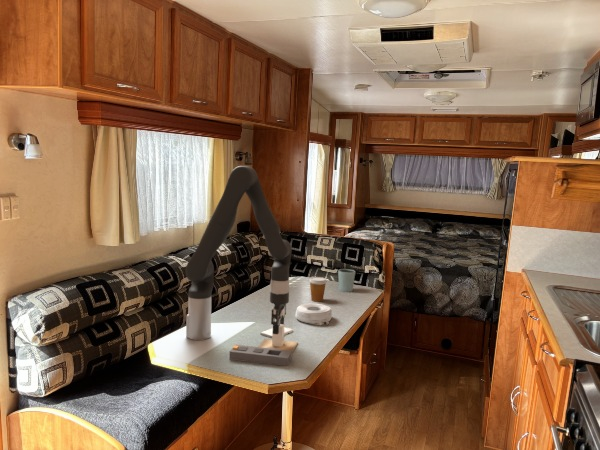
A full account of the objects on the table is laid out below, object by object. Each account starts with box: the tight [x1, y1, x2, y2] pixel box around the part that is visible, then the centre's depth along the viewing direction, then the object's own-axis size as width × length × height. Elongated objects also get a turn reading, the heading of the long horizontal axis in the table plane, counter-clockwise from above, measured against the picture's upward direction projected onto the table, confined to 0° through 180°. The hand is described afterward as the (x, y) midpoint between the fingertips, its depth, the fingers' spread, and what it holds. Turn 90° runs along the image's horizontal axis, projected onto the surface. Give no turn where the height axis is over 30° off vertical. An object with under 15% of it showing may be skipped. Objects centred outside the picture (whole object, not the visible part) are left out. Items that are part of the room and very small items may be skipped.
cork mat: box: [257, 338, 299, 353], centre depth 185 cm, size 14×10×1 cm
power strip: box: [229, 344, 293, 367], centre depth 171 cm, size 22×7×4 cm, turn 78°
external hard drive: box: [260, 327, 294, 339], centre depth 200 cm, size 2×8×12 cm
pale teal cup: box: [337, 268, 356, 293], centre depth 276 cm, size 10×10×12 cm
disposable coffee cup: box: [308, 276, 327, 303], centre depth 252 cm, size 10×10×12 cm
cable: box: [295, 303, 333, 326], centre depth 220 cm, size 18×18×6 cm
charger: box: [271, 321, 285, 347], centre depth 184 cm, size 4×4×10 cm
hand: (278, 330), depth 184 cm, fingers open, 8 cm apart
